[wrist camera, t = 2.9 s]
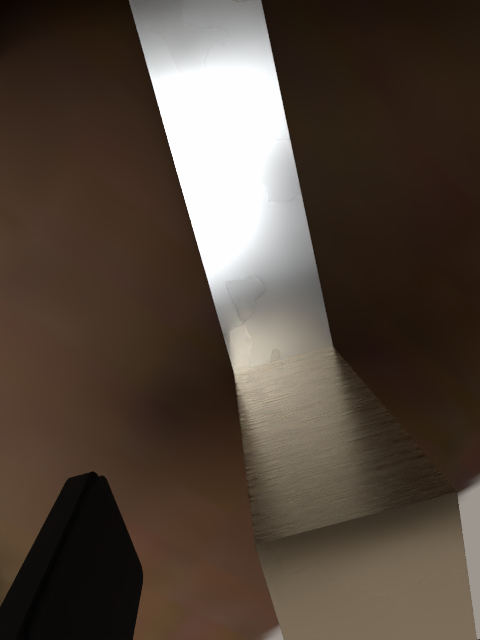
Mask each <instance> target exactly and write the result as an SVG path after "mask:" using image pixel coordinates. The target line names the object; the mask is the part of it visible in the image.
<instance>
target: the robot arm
mask: <svg viewBox="0 0 480 640" xmlns="http://www.w3.org/2000/svg"><path fill="white" fill-rule="evenodd" d="M142 585H143V571H142V566H141V563H140V561H139V558H138V556H137V553H136V551H135V548H134V546H133V543H132V541H131V538H130V536H129V533H128V531H127V528H126V526H125V523H124V521H123V518H122V516H121V513H120V511H119V508H118V506H117V503H116V501H115V499H114V496H113V494H112V491H111V489H110V486H109V484H108V481H107V479H106V478H105V476H98V475H97V474H96V473H95V472H90V473H86V474H82V475H78V476H75V477H71V478H68V480H67V481H66V483H65V485H64V486H63V488H62V490H61V492H60V494H59V496H58V498H57V500H56V502H55V504H54V506H53V507H52V509H51V511H50V513H49V515H48V517H47V519H46V521H45V523H44V525H43V527H42V528H41V530H40V532H39V534H38V536H37V538H36V540H35V542H34V544H33V546H32V548H31V549H30V551H29V553H28V555H27V557H26V559H25V561H24V563H23V565H22V567H21V569H20V570H19V572H18V574H17V576H16V578H15V580H14V582H13V584H12V586H11V588H10V589H9V591H8V593H7V595H6V597H5V599H4V601H3V603H2V605H1V607H0V640H133V635H134V629H135V624H136V618H137V613H138V607H139V601H140V596H141V590H142ZM478 640H480V639H478Z"/></svg>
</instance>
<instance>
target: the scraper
mask: <svg viewBox="0 0 480 640" xmlns="http://www.w3.org/2000/svg"><path fill="white" fill-rule="evenodd" d="M129 3H130V6H131V10H132V14H133V17H134V21H135V24H136V28H137V31H138V35H139V38H140V42H141V45H142V49H143V52H144V56H145V60H146V63H147V67H148V70H149V74H150V77H151V81H152V84H153V88H154V91H155V95H156V98H157V102H158V106H159V109H160V113H161V116H162V120H163V123H164V127H165V130H166V134H167V137H168V141H169V145H170V148H171V152H172V155H173V159H174V162H175V166H176V169H177V173H178V176H179V180H180V183H181V187H182V191H183V194H184V198H185V201H186V205H187V208H188V212H189V215H190V219H191V222H192V226H193V230H194V233H195V237H196V240H197V244H198V247H199V251H200V254H201V258H202V261H203V265H204V268H205V272H206V276H207V279H208V283H209V286H210V290H211V293H212V297H213V300H214V304H215V307H216V311H217V315H218V318H219V322H220V325H221V329H222V332H223V336H224V339H225V343H226V346H227V350H228V353H229V357H230V361H231V364H232V368H233V371H234V378H235V386H236V394H237V402H238V410H239V418H240V427H241V435H242V443H243V451H244V459H245V467H246V475H247V484H248V492H249V500H250V508H251V516H252V524H253V533H254V541H255V546H256V550H257V553H258V556H259V559H260V563H261V566H262V569H263V573H264V576H265V579H266V582H267V586H268V589H269V592H270V596H271V599H272V602H273V605H274V609H275V612H276V615H277V619H278V622H279V625H280V628H281V632H282V635H283V638H284V640H477V638H476V630H475V623H474V616H473V608H472V600H471V593H470V586H469V578H468V571H467V563H466V556H465V549H464V541H463V534H462V526H461V519H460V511H459V504H458V497H457V492H456V490H455V489H454V488H453V487H452V486H451V485H450V483H449V482H448V481H447V480H446V479H445V477H444V476H443V475H442V474H441V473H440V472H439V470H438V469H437V468H436V467H435V466H434V465H433V463H432V462H431V461H430V460H429V459H428V457H427V456H426V455H425V454H424V453H423V452H422V450H421V449H420V448H419V447H418V446H417V444H416V443H415V442H414V441H413V440H412V439H411V437H410V436H409V435H408V434H407V433H406V432H405V430H404V429H403V428H402V427H401V426H400V424H399V423H398V422H397V421H396V420H395V419H394V417H393V416H392V415H391V414H390V413H389V412H388V410H387V409H386V408H385V407H384V406H383V404H382V403H381V402H380V401H379V400H378V399H377V397H376V396H375V395H374V394H373V393H372V392H371V390H370V389H369V388H368V387H367V386H366V384H365V383H364V382H363V381H362V380H361V379H360V377H359V376H358V375H357V374H356V373H355V371H354V370H353V369H352V368H351V367H350V366H349V364H348V363H347V362H346V361H345V360H344V359H343V357H342V356H341V355H340V354H339V353H338V351H337V350H336V349H335V348H334V347H333V344H332V339H331V334H330V329H329V324H328V320H327V315H326V310H325V305H324V300H323V296H322V291H321V286H320V281H319V276H318V272H317V267H316V262H315V257H314V252H313V247H312V243H311V238H310V233H309V228H308V223H307V219H306V214H305V209H304V204H303V199H302V194H301V190H300V185H299V180H298V175H297V170H296V166H295V161H294V156H293V151H292V146H291V142H290V137H289V132H288V127H287V122H286V117H285V113H284V108H283V103H282V98H281V93H280V89H279V84H278V79H277V74H276V69H275V65H274V60H273V55H272V50H271V45H270V40H269V36H268V31H267V26H266V21H265V16H264V12H263V7H262V2H261V0H129Z"/></svg>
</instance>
